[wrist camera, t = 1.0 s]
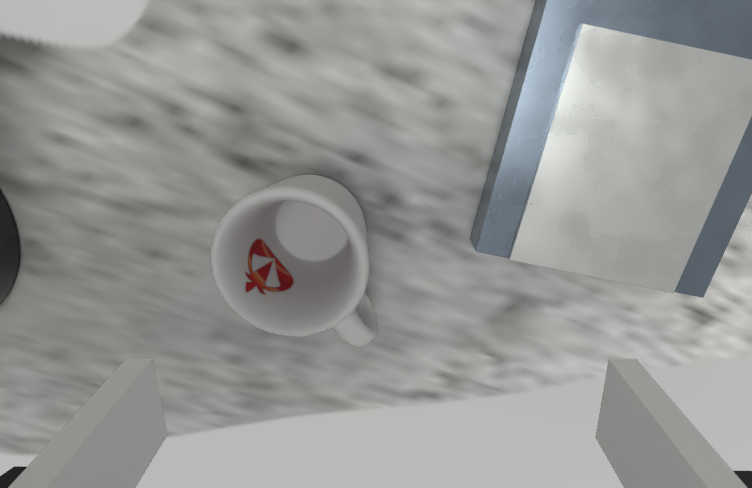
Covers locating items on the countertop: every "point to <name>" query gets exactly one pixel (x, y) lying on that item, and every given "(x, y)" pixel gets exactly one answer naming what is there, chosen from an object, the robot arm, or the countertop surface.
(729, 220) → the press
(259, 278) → the cup
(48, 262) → the countertop surface
